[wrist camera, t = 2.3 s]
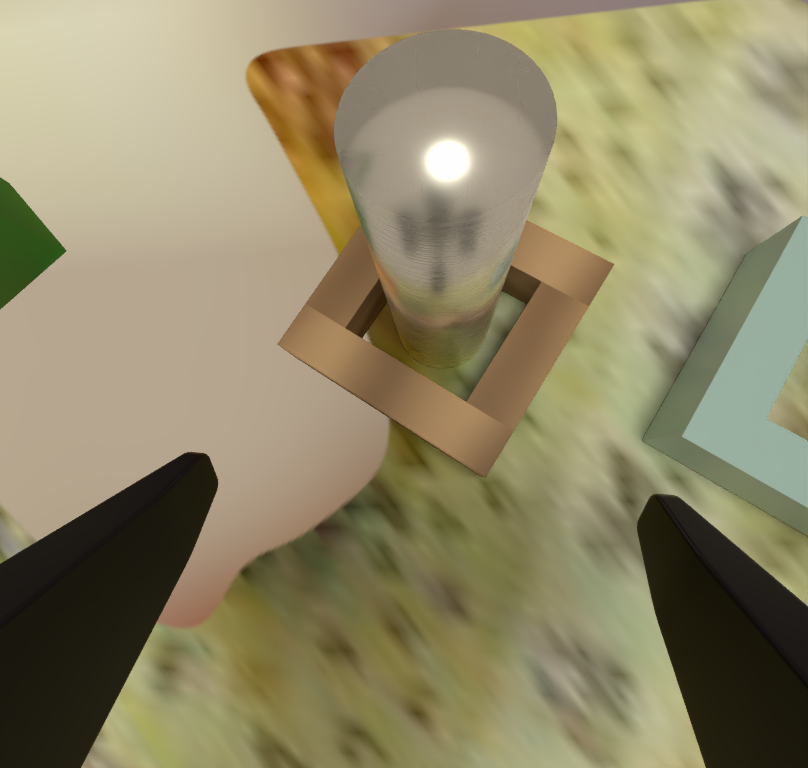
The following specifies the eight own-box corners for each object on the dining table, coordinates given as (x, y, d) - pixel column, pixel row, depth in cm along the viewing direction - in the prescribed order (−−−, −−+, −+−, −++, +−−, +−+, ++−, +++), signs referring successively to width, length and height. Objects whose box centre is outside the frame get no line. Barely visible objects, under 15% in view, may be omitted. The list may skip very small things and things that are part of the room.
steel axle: (503, 310, 23) (599, 79, 9) (456, 385, 22) (482, 260, 8) (428, 269, 23) (409, 0, 10) (381, 339, 23) (292, 160, 9)
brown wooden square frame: (591, 290, 22) (614, 264, 19) (479, 475, 21) (485, 478, 18) (410, 195, 24) (406, 159, 22) (298, 359, 23) (277, 344, 20)
